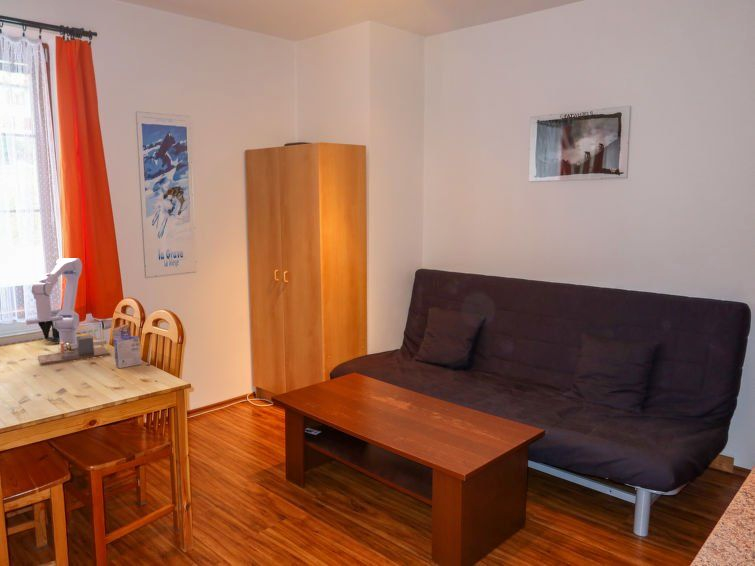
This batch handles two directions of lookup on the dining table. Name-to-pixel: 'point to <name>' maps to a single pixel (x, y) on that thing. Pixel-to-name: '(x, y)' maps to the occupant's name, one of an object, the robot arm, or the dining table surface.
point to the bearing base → (75, 352)
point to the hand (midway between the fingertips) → (46, 338)
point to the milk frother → (54, 329)
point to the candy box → (120, 330)
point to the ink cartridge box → (127, 350)
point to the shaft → (73, 346)
